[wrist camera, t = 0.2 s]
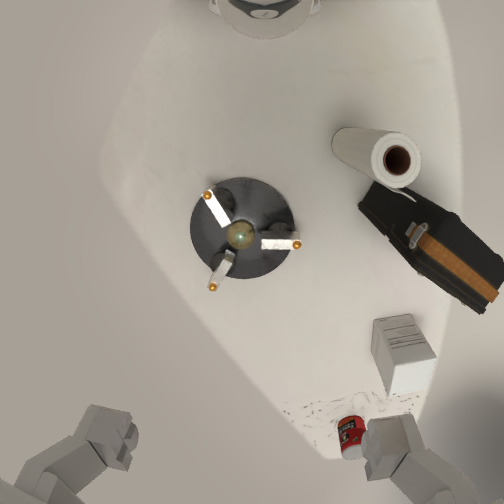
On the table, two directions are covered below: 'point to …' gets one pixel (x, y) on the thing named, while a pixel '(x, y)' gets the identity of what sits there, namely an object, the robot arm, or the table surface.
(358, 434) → the canned food
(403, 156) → the paper towel roll
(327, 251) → the table surface
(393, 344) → the supplement box
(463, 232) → the voltmeter
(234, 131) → the table surface
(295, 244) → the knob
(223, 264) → the grey lever knob
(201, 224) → the plate
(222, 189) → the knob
